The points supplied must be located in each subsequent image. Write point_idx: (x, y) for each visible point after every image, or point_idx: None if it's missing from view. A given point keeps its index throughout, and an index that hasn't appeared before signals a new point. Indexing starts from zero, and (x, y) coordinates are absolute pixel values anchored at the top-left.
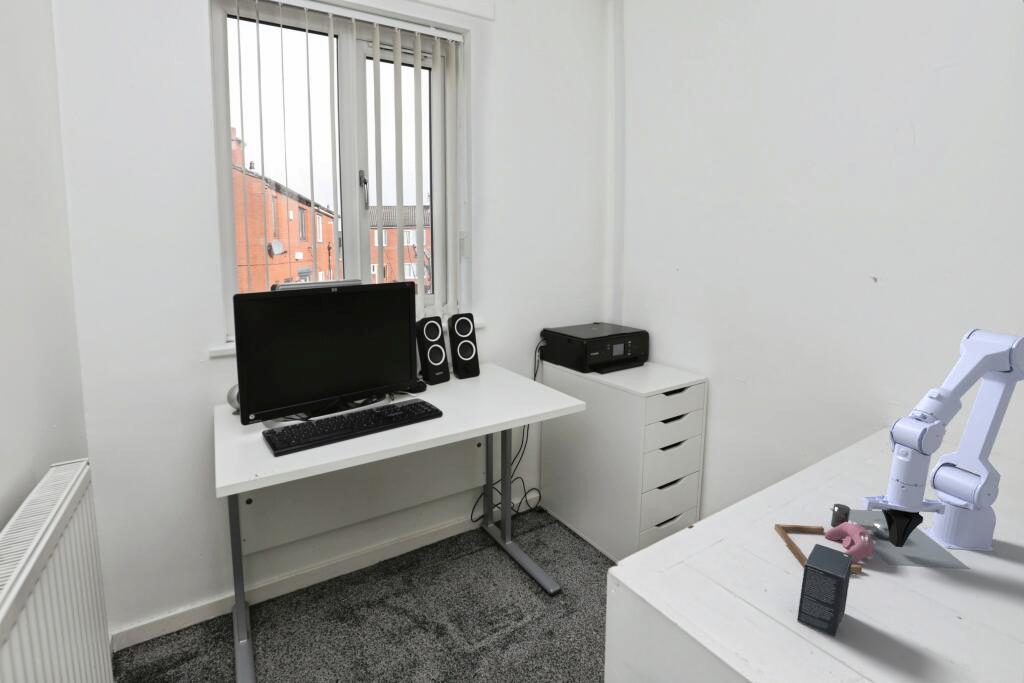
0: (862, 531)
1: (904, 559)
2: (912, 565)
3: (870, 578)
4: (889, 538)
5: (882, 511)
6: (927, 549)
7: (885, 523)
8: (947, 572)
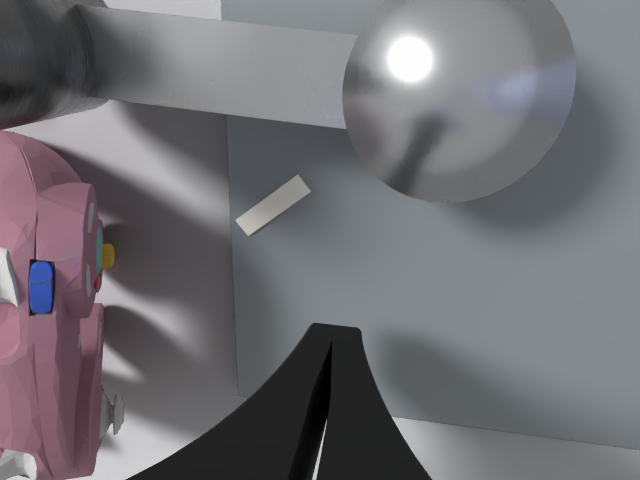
0: (1, 446)
1: None
2: None
3: (112, 446)
4: (304, 334)
5: (148, 470)
6: (623, 279)
7: (471, 79)
8: (521, 444)
